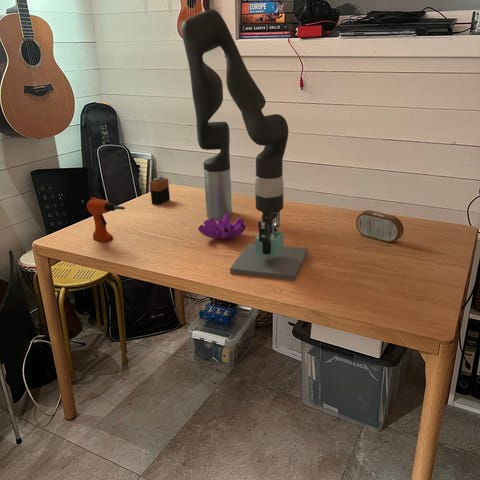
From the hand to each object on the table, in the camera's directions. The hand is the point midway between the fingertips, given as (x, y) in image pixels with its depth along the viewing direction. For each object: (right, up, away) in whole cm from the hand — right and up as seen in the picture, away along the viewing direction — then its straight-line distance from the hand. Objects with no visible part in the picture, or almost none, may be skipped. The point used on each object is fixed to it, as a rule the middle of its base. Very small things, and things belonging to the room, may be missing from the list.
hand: (269, 248), depth 136 cm
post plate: (0, -4, +2) cm, 4 cm away
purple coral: (-13, +3, +21) cm, 25 cm away
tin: (+35, +3, +15) cm, 38 cm away
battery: (-40, +17, +56) cm, 71 cm away
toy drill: (-50, +2, +21) cm, 54 cm away
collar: (0, -1, 0) cm, 1 cm away
